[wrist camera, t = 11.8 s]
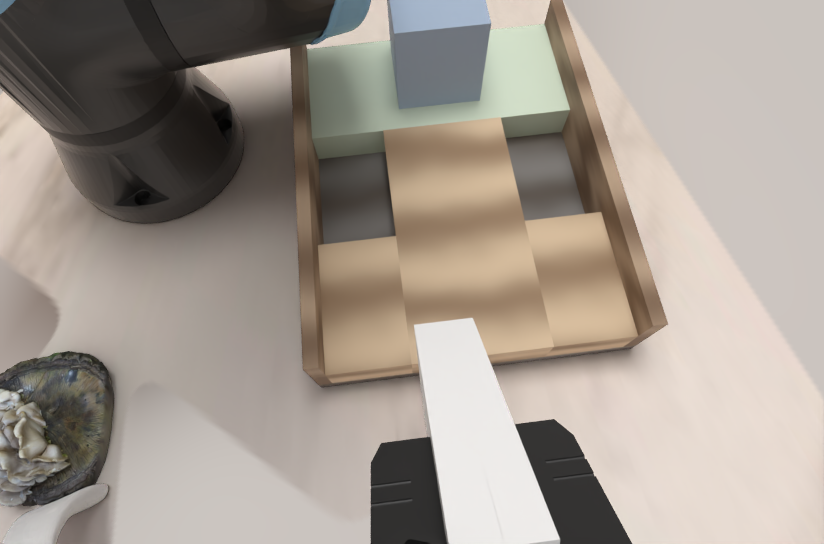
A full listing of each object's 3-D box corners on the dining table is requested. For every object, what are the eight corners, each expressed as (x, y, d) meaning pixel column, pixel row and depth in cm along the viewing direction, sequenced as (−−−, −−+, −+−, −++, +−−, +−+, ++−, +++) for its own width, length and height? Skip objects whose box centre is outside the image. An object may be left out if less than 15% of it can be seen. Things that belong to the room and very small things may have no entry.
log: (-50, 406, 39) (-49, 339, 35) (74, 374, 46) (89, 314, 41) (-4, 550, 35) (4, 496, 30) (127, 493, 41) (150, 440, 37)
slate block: (479, 100, 44) (491, 23, 37) (399, 109, 44) (394, 33, 37) (466, 40, 47) (475, -43, 40) (390, 48, 47) (384, -34, 40)
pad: (561, 131, 47) (570, 109, 44) (318, 159, 46) (312, 138, 43) (537, 48, 50) (544, 23, 48) (313, 73, 50) (307, 49, 47)
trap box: (631, 348, 40) (668, 324, 34) (321, 387, 39) (303, 369, 33) (545, 55, 51) (561, -2, 45) (305, 81, 51) (289, 27, 45)
